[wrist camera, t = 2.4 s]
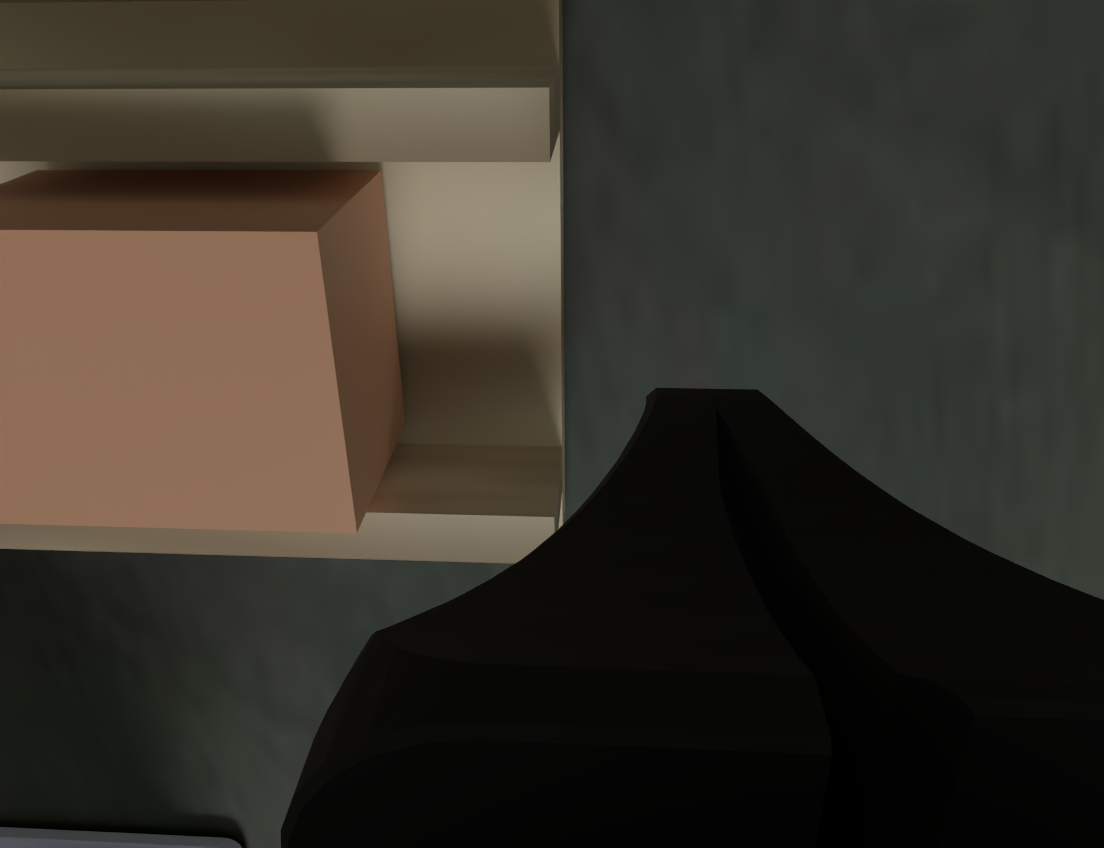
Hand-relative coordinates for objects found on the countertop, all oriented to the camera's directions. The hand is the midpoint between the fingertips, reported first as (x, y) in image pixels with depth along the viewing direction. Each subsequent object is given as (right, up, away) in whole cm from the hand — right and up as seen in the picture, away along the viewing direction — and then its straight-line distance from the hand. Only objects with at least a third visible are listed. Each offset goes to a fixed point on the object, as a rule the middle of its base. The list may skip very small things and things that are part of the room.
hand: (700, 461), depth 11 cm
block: (-8, +3, +6) cm, 10 cm away
